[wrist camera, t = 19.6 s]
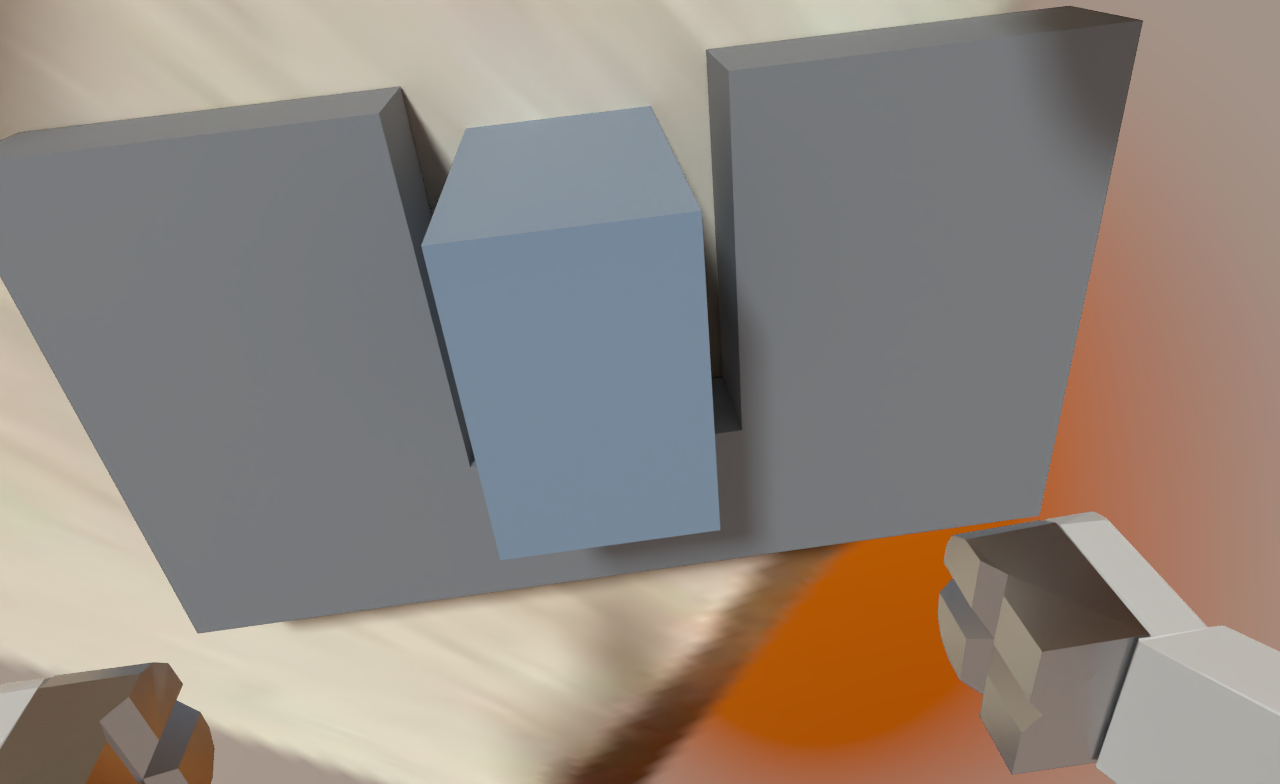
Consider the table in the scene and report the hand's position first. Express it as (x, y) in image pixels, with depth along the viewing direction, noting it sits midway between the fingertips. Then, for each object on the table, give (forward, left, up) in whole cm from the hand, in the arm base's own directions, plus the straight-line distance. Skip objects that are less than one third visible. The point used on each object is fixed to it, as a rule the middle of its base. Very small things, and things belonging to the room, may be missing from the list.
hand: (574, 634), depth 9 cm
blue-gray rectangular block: (0, 0, -12) cm, 12 cm away
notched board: (0, -2, -12) cm, 12 cm away
